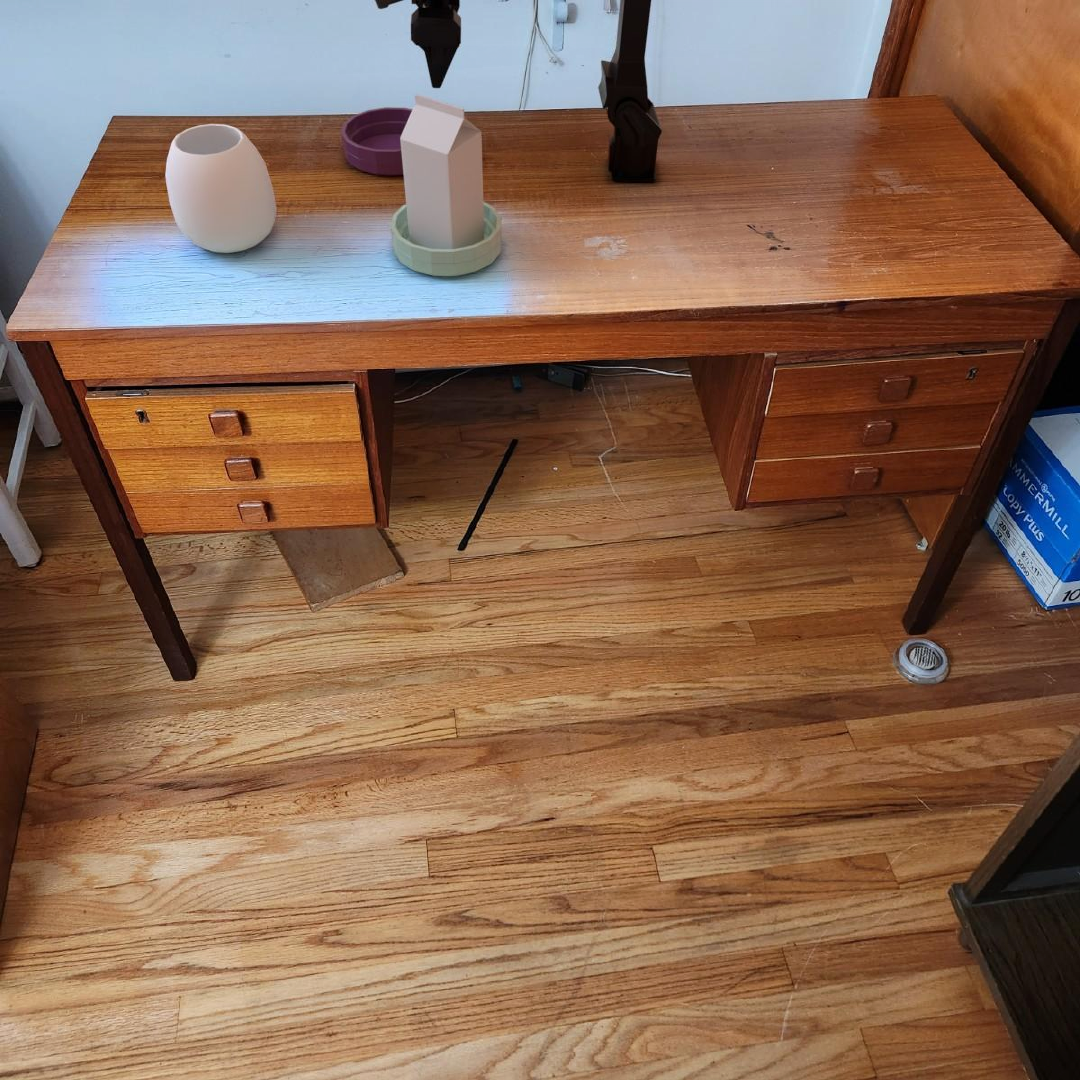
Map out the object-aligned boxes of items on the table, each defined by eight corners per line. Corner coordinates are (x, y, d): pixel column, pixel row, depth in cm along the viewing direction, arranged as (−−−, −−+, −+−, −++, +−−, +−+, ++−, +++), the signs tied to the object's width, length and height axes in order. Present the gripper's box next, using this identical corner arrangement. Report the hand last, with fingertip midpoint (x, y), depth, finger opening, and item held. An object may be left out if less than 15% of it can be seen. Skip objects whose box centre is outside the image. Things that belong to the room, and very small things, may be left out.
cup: (254, 271, 123) (231, 171, 113) (162, 254, 125) (131, 155, 115) (298, 220, 132) (281, 123, 122) (211, 205, 134) (187, 109, 124)
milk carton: (454, 266, 124) (446, 120, 110) (409, 249, 126) (396, 105, 112) (484, 241, 128) (481, 98, 114) (441, 226, 130) (432, 83, 116)
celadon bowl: (502, 222, 132) (502, 195, 129) (499, 280, 123) (499, 252, 120) (399, 220, 132) (397, 193, 129) (388, 278, 123) (385, 250, 120)
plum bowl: (443, 133, 149) (441, 108, 147) (436, 178, 140) (434, 152, 137) (351, 132, 149) (348, 106, 146) (339, 176, 140) (335, 150, 137)
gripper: (375, -85, 124) (380, 42, 136) (366, -35, 112) (372, 100, 123) (461, -79, 125) (459, 47, 137) (462, -29, 113) (459, 104, 124)
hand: (436, 73), depth 130 cm, fingers open, 9 cm apart
